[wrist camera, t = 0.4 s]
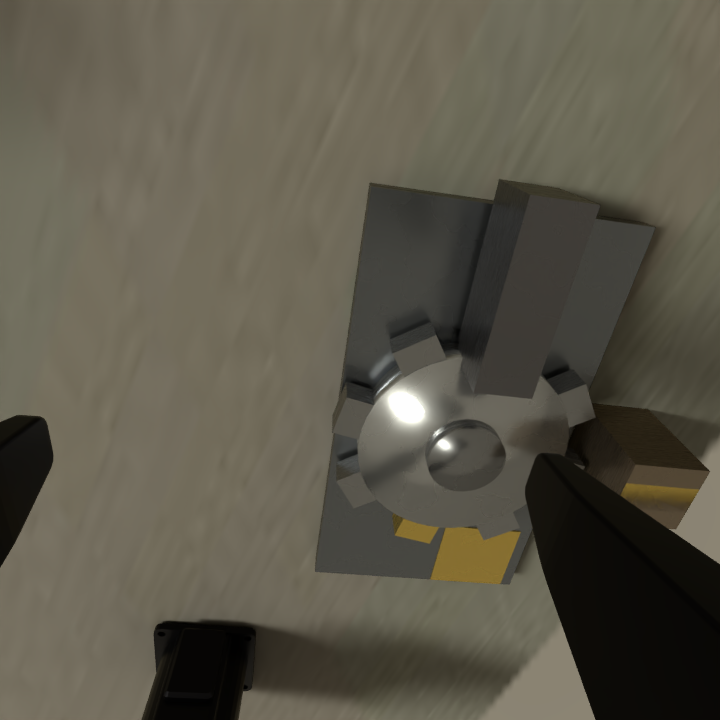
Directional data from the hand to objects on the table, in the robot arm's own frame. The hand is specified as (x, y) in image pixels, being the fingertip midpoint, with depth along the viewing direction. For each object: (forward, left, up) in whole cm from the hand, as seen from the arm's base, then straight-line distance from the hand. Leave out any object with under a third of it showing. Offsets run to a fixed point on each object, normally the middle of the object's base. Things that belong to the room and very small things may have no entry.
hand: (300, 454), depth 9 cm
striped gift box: (-8, -16, -14) cm, 23 cm away
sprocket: (-5, -8, -13) cm, 16 cm away
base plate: (-8, -8, -14) cm, 18 cm away
